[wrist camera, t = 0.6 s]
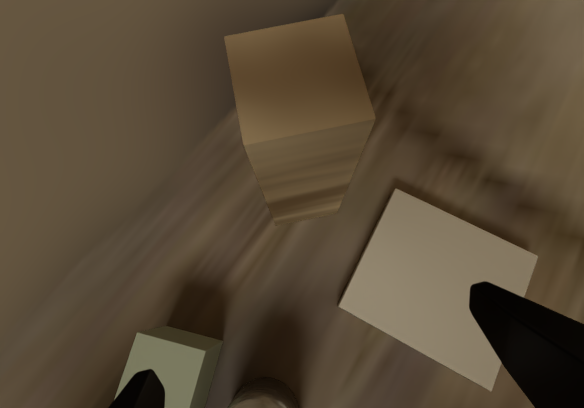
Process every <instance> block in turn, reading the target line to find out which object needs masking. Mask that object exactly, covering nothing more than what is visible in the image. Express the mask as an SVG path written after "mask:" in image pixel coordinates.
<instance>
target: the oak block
mask: <svg viewBox="0 0 584 408" xmlns="http://www.w3.org/2000/svg"><path fill="white" fill-rule="evenodd" d="M224 38H225V44H226V49H227V55H228V61H229V67H230V72H231V78H232V83H233V89H234V95H235V100H236V106H237V112H238V117H239V123H240V129H241V134H242V140H243V145H244V148H245V150H246V153H247V155H248V158H249V160H250V163H251V165H252V168H253V170H254V173H255V175H256V178H257V180H258V183H259V185H260V188H261V190H262V193H263V195H264V198H265V200H266V203H267V205H268V208H269V210H270V213H271V215H272V217H273V220H274V222H275V225H276V226H278V225H283V224H288V223H293V222H298V221H302V220H307V219H312V218H317V217H322V216H327V215H332V214H336V213H337V212H338V210H339V207H340V205H341V202H342V200H343V198H344V195H345V193H346V190H347V188H348V185H349V183H350V181H351V178H352V176H353V173H354V171H355V169H356V166H357V164H358V161H359V159H360V156H361V154H362V152H363V149H364V147H365V144H366V142H367V139H368V137H369V135H370V132H371V130H372V127H373V125H374V122H375V120H376V117H375V114H374V111H373V108H372V104H371V101H370V98H369V95H368V92H367V88H366V85H365V82H364V79H363V75H362V72H361V69H360V66H359V63H358V59H357V56H356V53H355V50H354V46H353V43H352V40H351V37H350V34H349V30H348V27H347V24H346V21H345V17H344V14H339V15H333V16H328V17H323V18H318V19H313V20H308V21H302V22H297V23H292V24H287V25H282V26H277V27H271V28H266V29H262V30H256V31H250V32H245V33H240V34H236V35H230V36H225V37H224Z"/></svg>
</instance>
